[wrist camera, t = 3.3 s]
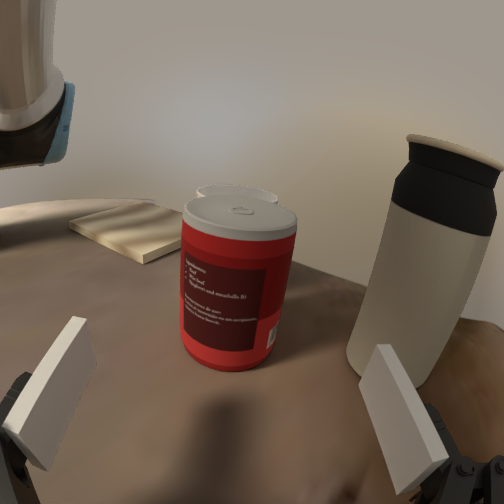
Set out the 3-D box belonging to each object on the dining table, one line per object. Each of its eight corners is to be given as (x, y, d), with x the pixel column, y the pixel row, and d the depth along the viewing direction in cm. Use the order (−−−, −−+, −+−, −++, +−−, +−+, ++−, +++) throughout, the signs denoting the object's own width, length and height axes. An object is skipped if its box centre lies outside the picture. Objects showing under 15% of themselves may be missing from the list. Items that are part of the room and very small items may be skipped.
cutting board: (69, 228, 42) (68, 221, 41) (141, 207, 55) (141, 201, 55) (143, 264, 35) (142, 254, 34) (218, 230, 48) (219, 223, 47)
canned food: (252, 308, 29) (268, 195, 25) (290, 364, 23) (322, 229, 18) (172, 316, 26) (174, 194, 22) (192, 382, 20) (196, 231, 15)
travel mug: (403, 410, 18) (505, 159, 11) (326, 357, 24) (385, 126, 17) (437, 362, 23) (509, 170, 16) (373, 324, 29) (423, 142, 22)
